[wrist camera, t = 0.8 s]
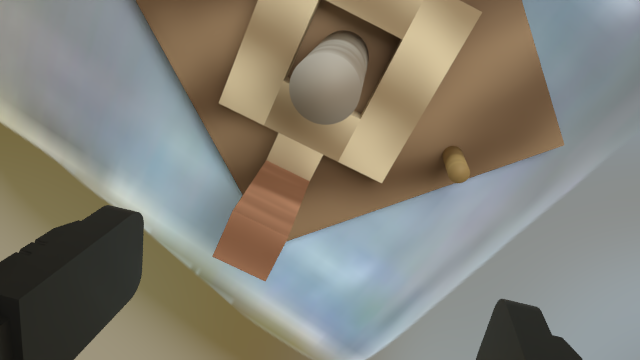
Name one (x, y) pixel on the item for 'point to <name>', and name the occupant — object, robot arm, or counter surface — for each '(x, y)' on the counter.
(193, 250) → the counter surface
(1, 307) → the robot arm
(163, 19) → the post base
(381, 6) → the square frame with handle
